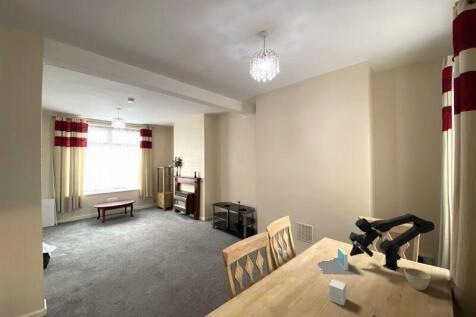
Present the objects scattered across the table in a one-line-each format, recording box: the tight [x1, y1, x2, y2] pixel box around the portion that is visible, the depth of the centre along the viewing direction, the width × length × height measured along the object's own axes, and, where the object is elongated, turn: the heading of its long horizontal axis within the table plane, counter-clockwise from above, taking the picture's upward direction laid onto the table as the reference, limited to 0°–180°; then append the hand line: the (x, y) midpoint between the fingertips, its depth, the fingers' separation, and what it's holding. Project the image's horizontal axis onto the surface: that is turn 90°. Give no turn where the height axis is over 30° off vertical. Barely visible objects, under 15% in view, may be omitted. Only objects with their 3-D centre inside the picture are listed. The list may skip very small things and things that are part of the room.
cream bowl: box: [403, 267, 431, 291], centre depth 102 cm, size 10×10×7 cm
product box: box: [328, 278, 347, 307], centre depth 94 cm, size 6×6×7 cm
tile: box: [337, 247, 349, 270], centre depth 124 cm, size 2×10×9 cm, turn 175°
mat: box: [316, 257, 360, 276], centre depth 124 cm, size 20×20×1 cm
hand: (350, 255), depth 123 cm, fingers closed
